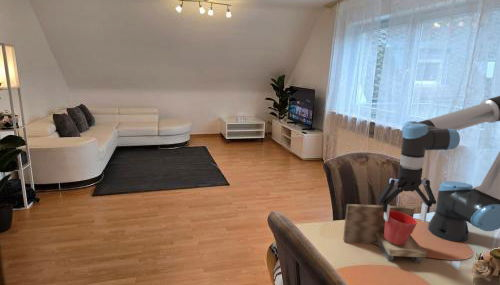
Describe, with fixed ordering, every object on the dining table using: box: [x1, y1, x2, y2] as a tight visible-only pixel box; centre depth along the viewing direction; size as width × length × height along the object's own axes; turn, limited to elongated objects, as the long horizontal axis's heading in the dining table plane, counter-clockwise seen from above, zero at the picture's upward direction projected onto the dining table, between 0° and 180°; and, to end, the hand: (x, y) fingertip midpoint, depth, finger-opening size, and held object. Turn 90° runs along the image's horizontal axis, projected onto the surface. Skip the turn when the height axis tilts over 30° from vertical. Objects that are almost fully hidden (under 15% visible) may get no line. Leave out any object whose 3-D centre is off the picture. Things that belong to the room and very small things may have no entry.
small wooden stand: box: [376, 233, 428, 263], centre depth 122 cm, size 13×14×6 cm
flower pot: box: [384, 211, 418, 245], centre depth 121 cm, size 11×11×10 cm
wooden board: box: [342, 203, 415, 245], centre depth 129 cm, size 26×2×16 cm, turn 88°
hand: (404, 220), depth 120 cm, fingers open, 13 cm apart
